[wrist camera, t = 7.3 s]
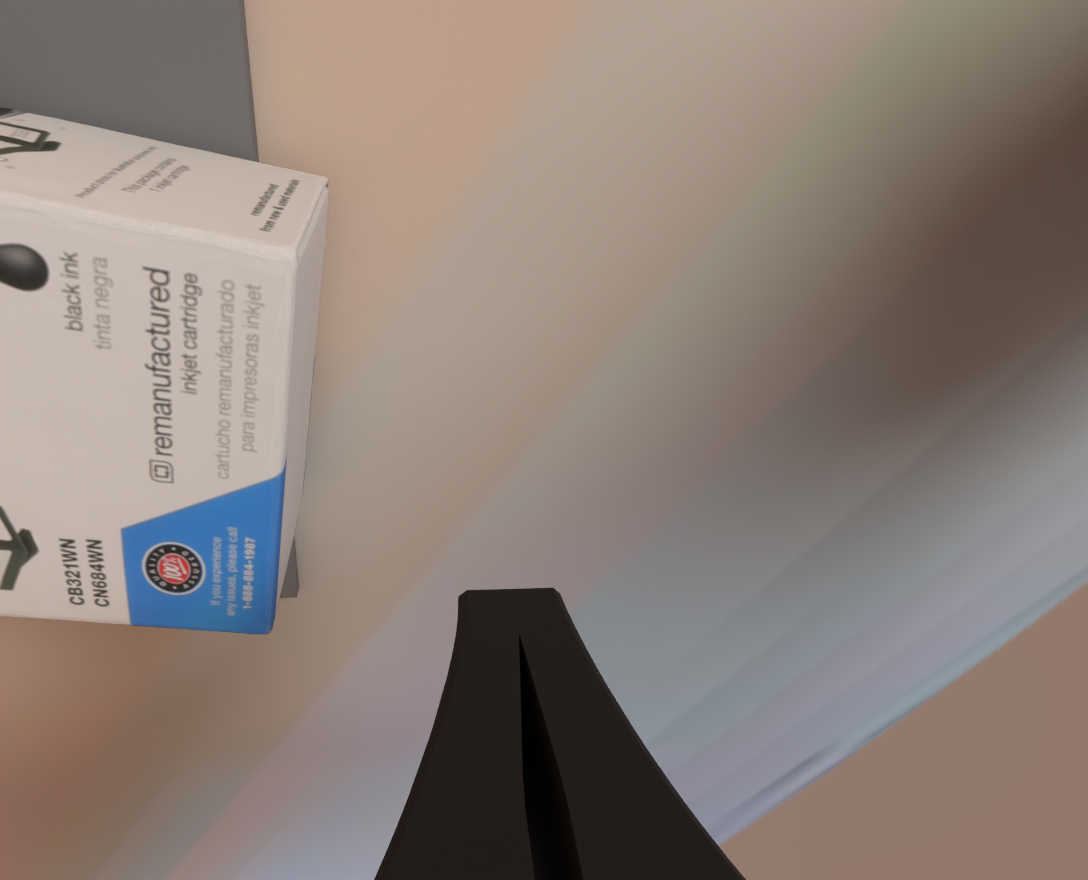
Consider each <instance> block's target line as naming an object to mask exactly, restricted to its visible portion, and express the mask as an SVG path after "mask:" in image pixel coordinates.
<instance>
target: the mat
mask: <svg viewBox="0 0 1088 880" xmlns="http://www.w3.org/2000/svg"><path fill="white" fill-rule="evenodd" d="M0 107H2V108H10V109H14V110H18V111H23V112H27V113H31V114H36V115H41V116H47V117H52V118H57V119H62V120H66V121H71V122H75V123H80V124H85V125H89V126H94V127H99V128H103V129H108V130H112V131H116V132H121V133H125V134H130V135H135V136H139V137H144V138H148V139H153V140H157V141H162V142H166V143H171V144H175V145H180V146H184V147H189V148H194V149H200V150H204V151H209V152H213V153H218V154H222V155H227V156H231V157H236V158H240V159H245V160H250V161H255V162H259V159H258V148H257V138H256V127H255V116H254V106H253V95H252V85H251V74H250V63H249V53H248V42H247V32H246V21H245V10H244V0H0ZM298 589H299V583H298V572H297V561H296V551H295V540H294V537H293V542H292V546H291V551H290V555H289V560H288V564H287V569H286V573H285V577H284V582H283V586H282V590H281V594H280V597H297V594H298Z"/></svg>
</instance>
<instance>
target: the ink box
mask: <svg viewBox="0 0 1088 880" xmlns="http://www.w3.org/2000/svg"><path fill="white" fill-rule="evenodd" d="M328 198H329V185H328V179H327V178H326V177H324V176H319V175H314V174H309V173H305V172H300V171H296V170H291V169H287V168H282V167H277V166H271V165H267V164H263V163H259V162H255V161H250V160H245V159H240V158H236V157H231V156H227V155H222V154H218V153H213V152H209V151H204V150H200V149H194V148H189V147H184V146H180V145H175V144H171V143H166V142H162V141H157V140H153V139H148V138H144V137H139V136H135V135H130V134H125V133H121V132H116V131H112V130H108V129H103V128H99V127H94V126H89V125H85V124H80V123H75V122H71V121H66V120H62V119H57V118H52V117H47V116H41V115H36V114H31V113H27V112H23V111H18V110H14V109H10V108H2V107H0V616H11V617H25V618H40V619H55V620H70V621H83V622H96V623H110V624H124V625H133V626H150V627H164V628H178V629H191V630H206V631H220V632H234V633H247V634H268V633H270V631H271V630H272V628H273V623H274V619H275V614H276V611H277V607H278V603H279V599H280V594H281V590H282V586H283V582H284V577H285V573H286V569H287V564H288V560H289V555H290V551H291V546H292V542H293V537H294V533H295V529H296V524H297V520H298V515H299V511H300V506H301V501H302V495H303V486H304V475H305V464H306V453H307V441H308V429H309V417H310V406H311V394H312V382H313V371H314V360H315V349H316V338H317V327H318V316H319V305H320V294H321V283H322V272H323V260H324V249H325V238H326V227H327V213H328Z"/></svg>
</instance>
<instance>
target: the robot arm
mask: <svg viewBox="0 0 1088 880" xmlns="http://www.w3.org/2000/svg"><path fill="white" fill-rule="evenodd" d="M374 880H746V879H745V878H744V877H743V876H742V875H741V873H740V872H739V871H738V870H737V868H736V867H735V866H734V865H733V864H732V863H731V861H730V860H729V859H728V858H727V857H726V855H725V854H724V853H723V851H722V850H721V849H720V848H719V846H718V845H717V844H716V843H715V841H714V840H713V839H712V837H711V836H710V835H709V834H708V832H707V831H706V830H705V829H704V827H703V826H702V825H701V823H700V822H699V821H698V820H697V818H696V817H695V816H694V814H693V813H692V812H691V810H690V809H689V808H688V806H687V805H686V804H685V802H684V801H683V799H682V798H681V797H680V795H679V794H678V793H677V791H676V790H675V788H674V787H673V786H672V784H671V783H670V781H669V780H668V779H667V777H666V776H665V774H664V773H663V771H662V770H661V768H660V767H659V766H658V764H657V763H656V761H655V760H654V758H653V757H652V756H651V754H650V753H649V751H648V750H647V748H646V747H645V745H644V744H643V742H642V741H641V739H640V737H639V736H638V734H637V733H636V731H635V730H634V728H633V727H632V725H631V724H630V722H629V720H628V719H627V717H626V715H625V714H624V712H623V711H622V709H621V707H620V706H619V704H618V702H617V701H616V699H615V698H614V696H613V694H612V693H611V691H610V689H609V688H608V686H607V684H606V683H605V681H604V679H603V678H602V676H601V674H600V672H599V671H598V669H597V667H596V665H595V663H594V662H593V660H592V658H591V656H590V654H589V652H588V651H587V649H586V647H585V645H584V643H583V641H582V639H581V637H580V635H579V634H578V632H577V630H576V628H575V626H574V624H573V622H572V619H571V617H570V615H569V613H568V611H567V609H566V607H565V604H564V602H563V600H562V597H561V595H560V593H558V592H557V591H556V590H555V589H554V588H532V589H496V590H467V591H465V592H464V593H463V594H461V595H460V596H459V597H458V622H457V631H456V637H455V643H454V648H453V653H452V658H451V662H450V667H449V671H448V676H447V679H446V683H445V686H444V690H443V693H442V697H441V700H440V704H439V708H438V711H437V715H436V718H435V722H434V725H433V728H432V731H431V734H430V738H429V741H428V743H427V746H426V749H425V752H424V755H423V757H422V760H421V763H420V766H419V769H418V772H417V774H416V777H415V780H414V783H413V786H412V788H411V791H410V794H409V797H408V799H407V802H406V805H405V807H404V810H403V812H402V815H401V817H400V820H399V822H398V825H397V827H396V830H395V832H394V835H393V837H392V840H391V842H390V844H389V847H388V849H387V851H386V854H385V856H384V858H383V861H382V863H381V865H380V868H379V870H378V872H377V875H376V877H375V879H374Z"/></svg>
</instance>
